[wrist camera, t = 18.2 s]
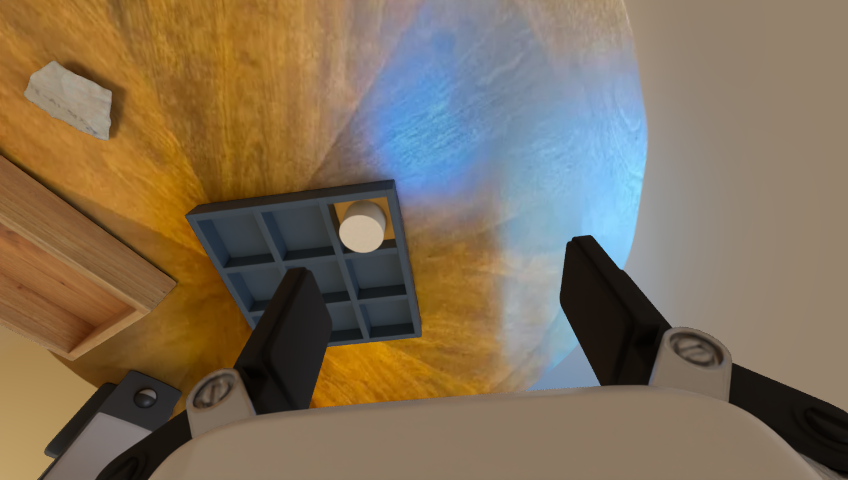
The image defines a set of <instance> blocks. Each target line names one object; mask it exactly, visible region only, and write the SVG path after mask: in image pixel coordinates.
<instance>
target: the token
mask: <svg viewBox="0 0 848 480" xmlns="http://www.w3.org/2000/svg"><path fill="white" fill-rule="evenodd" d="M385 225H386V215H385V213H384V211H383V209H382V208H381V207H380V206H379V205H377V204H376V203H374V202H371V201H367V200H361V201H357V202H355V203H353V204H351V205H350V206H349V207H348V209H347V211H346V213H345V216H344V218H343V221H342V223H341V226H340V229H339V235H340V238H341V241H342V242H343V244H344V245H345V246H346V247H348V248H349V249H351V250H353V251H355V252H360V253H367V252H371V251H373V250H375V249H377V248H378V247H379V246H380V245H381V243H382V241H383V238H384V232H385Z"/></svg>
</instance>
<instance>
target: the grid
mask: <svg viewBox="0 0 848 480" xmlns="http://www.w3.org/2000/svg"><path fill="white" fill-rule="evenodd" d="M361 200H367V201H371V202H374V203H376V204H377V205H379V206H380V207H381V208H382V209H383V211H384V213H385V215H386V225H385V232H384V238H383V241H382V243H381V245H380V246H379V247H378V248H377V249H375V250H373V251H371V252H367V253H360V252H355V251H353V250H351V249H349V248H348V247H346V246H345V245H344V244H343V242H342V241H341V238H340V235H339V229H340V226H341V223H342V221H343V218H344V216H345V213H346V211H347V209H348V207H349V206H350V205H351V204H353V203H355V202H357V201H361ZM185 217H186V219H187V221H188V222H189V224H190V226H191V227H192V229H193V231H194V232H195V234H196V236H197V237H198V239H199V241H200V242H201V244H202V246H203V248H204V249H205V251H206V253H207V254H208V256H209V258H210V259H211V261H212V263H213V264H214V266H215V268H216V270H217V271H218V273H219V275H220V276H221V278H222V280H223V281H224V283H225V285H226V286H227V288H228V290H229V291H230V293H231V295H232V297H233V298H234V300H235V302H236V303H237V305H238V307H239V308H240V310H241V312H242V313H243V315H244V317H245V319H246V320H247V322H248V324H249V325H250V327H251V329H252V330H253V331H254V329H255V327H256V325H257V323H258V322H259V320H260V318H261V316H262V315H263V313H264V311H265V309H266V307H267V306H268V304H269V302H270V300H271V298H272V297H273V295H274V293H275V291H276V290H277V288H278V286H279V284H280V282H281V281H282V279H283V277H284V275H285V273H286V272H287V270H288V269H290V268H297V267H306V268H307V270H311V271H312V273H313V275H314V277H315V280H316V282H317V285H318V287H319V289H320V292H321V294H322V297H323V299H324V302H325V304H326V307H327V309H328V311H329V314H330V316H331V319H332V323H333V327H332V331H331V335H330V338H329V342H328V345H327V347H331V346H340V345H350V344H359V343H369V342H379V341H388V340H398V339H407V338H416V337H422V330H421V319H420V313H419V308H418V303H417V297H416V292H415V287H414V281H413V276H412V271H411V265H410V260H409V255H408V249H407V244H406V239H405V234H404V228H403V223H402V218H401V212H400V207H399V202H398V196H397V191H396V186H395V180H387V181H379V182H371V183H364V184H356V185H348V186H341V187H333V188H325V189H318V190H310V191H302V192H295V193H287V194H279V195H272V196H264V197H256V198H249V199H241V200H233V201H226V202H218V203H210V204H203V205H197V206H196V207H195V208H194V209H192V210H191V211H190V212H189V213H187V214H186V215H185Z"/></svg>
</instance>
